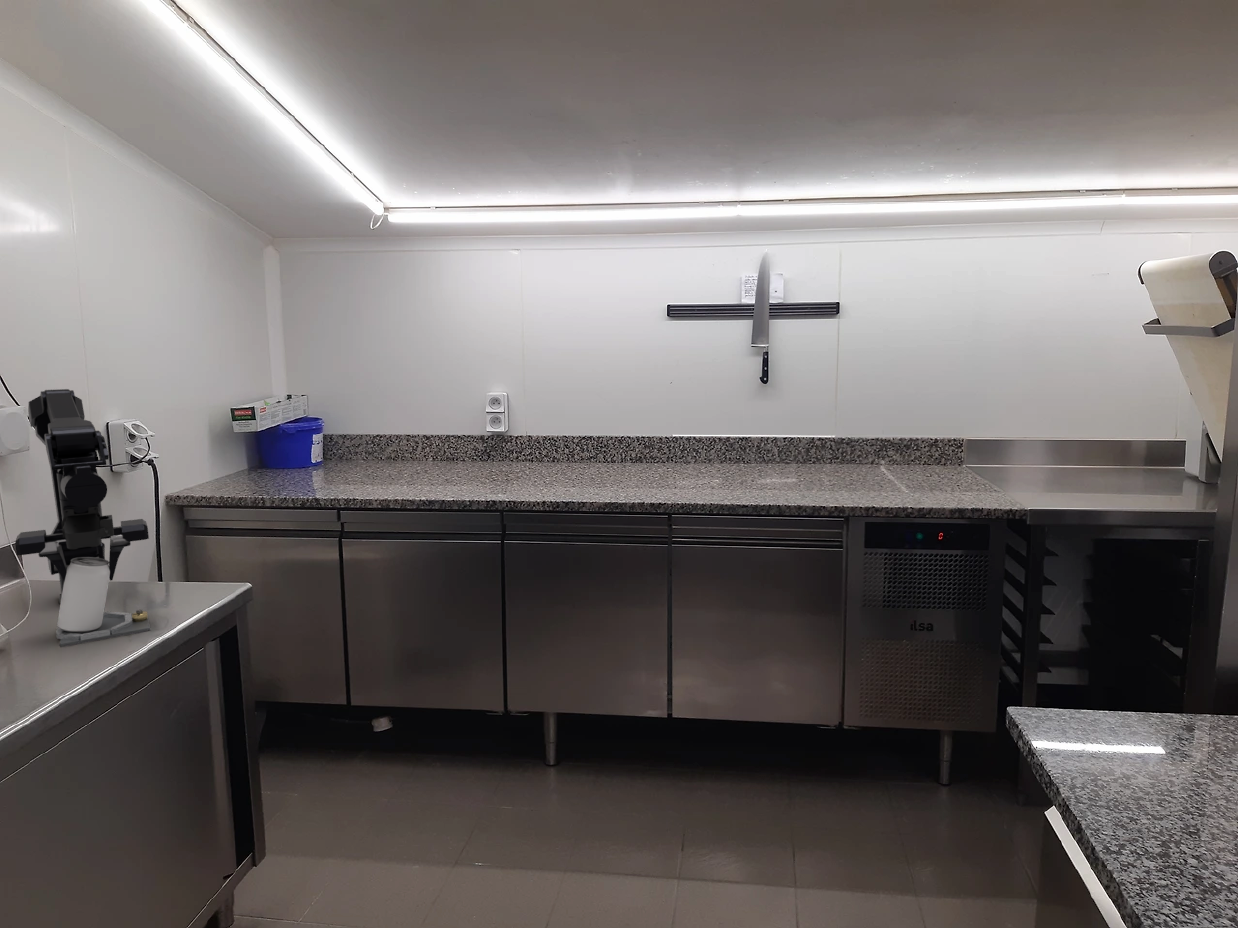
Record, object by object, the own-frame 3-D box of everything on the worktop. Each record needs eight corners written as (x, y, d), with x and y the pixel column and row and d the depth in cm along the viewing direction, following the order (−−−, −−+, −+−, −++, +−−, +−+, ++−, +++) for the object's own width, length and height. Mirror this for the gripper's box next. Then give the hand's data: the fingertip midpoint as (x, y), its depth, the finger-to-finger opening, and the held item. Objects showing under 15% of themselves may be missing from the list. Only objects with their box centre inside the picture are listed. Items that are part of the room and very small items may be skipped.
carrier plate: (61, 628, 134) (61, 625, 134) (146, 613, 142) (146, 610, 142) (60, 647, 126) (59, 644, 126) (150, 630, 134) (149, 627, 134)
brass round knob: (132, 618, 138) (131, 609, 137) (147, 616, 139) (146, 607, 139) (132, 622, 136) (131, 613, 135) (148, 620, 137) (147, 610, 137)
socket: (58, 624, 135) (57, 620, 135) (130, 611, 141) (130, 607, 141) (56, 644, 126) (55, 640, 126) (133, 630, 132) (132, 626, 132)
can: (75, 635, 128) (86, 567, 127) (47, 625, 130) (58, 558, 129) (110, 627, 134) (120, 563, 134) (83, 618, 136) (93, 554, 135)
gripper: (7, 513, 118) (19, 607, 120) (146, 499, 128) (154, 585, 131) (13, 500, 127) (24, 587, 129) (142, 488, 137) (150, 569, 140)
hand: (90, 582), depth 132 cm, fingers closed on can, 6 cm apart
